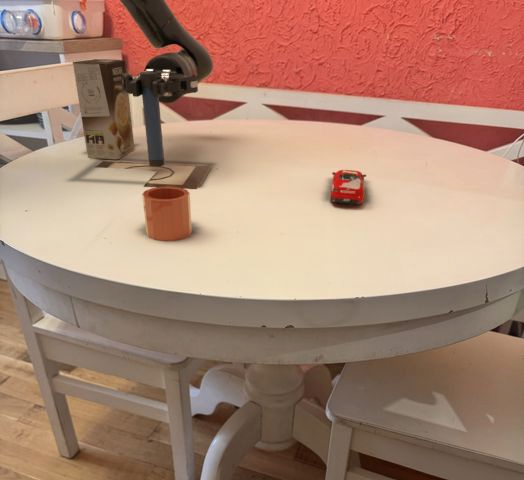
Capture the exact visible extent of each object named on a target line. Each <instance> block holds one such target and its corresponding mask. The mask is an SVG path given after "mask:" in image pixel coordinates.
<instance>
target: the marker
mask: <svg viewBox="0 0 524 480" xmlns="http://www.w3.org/2000/svg"><path fill="white" fill-rule="evenodd" d="M139 73H140V82H141V89H142V95H141V98H142V107H143V108H142V109H143V117H144V128H145V136H146V147H147V156H148V158H147V159H148V163H149V165H150V166H156V167H157V166H163V165H164V164H165V154H164V143H163V132H162V119H161V118H162V117H161V108H160V107H161V106H160V102H159V98H156V97H154V96H153V81H155V80H158V78H157V73H156V72H143V71H140V72H139Z"/></svg>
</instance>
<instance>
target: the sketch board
mask: <svg viewBox="0 0 524 480" xmlns="http://www.w3.org/2000/svg"><path fill="white" fill-rule="evenodd" d="M95 168H97V169H98V168H99V169H119V170H120V169H123V170H140V171H141V170H142V171H156V172H155V173H153V175H152V176H151V178H149V180H148V181H146V183H145V184H143V187H145V188H157V187H178V188H182V189H185V190H197V189H198V188H200V187H201V185H202V184H203V182H204V181H205V180H206V177H207V176H208V174H209V173H210V171H211V169H212V168H211V165H199V164H197V165H196V164H180V163H179V164H176V163H164V165H163V166H157V167H156V166H150V165H149V162H136V161H134V162H133V161H116V160H115V161H112V160H102V161H101V162H100V163H98V164H97V165H95Z"/></svg>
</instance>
